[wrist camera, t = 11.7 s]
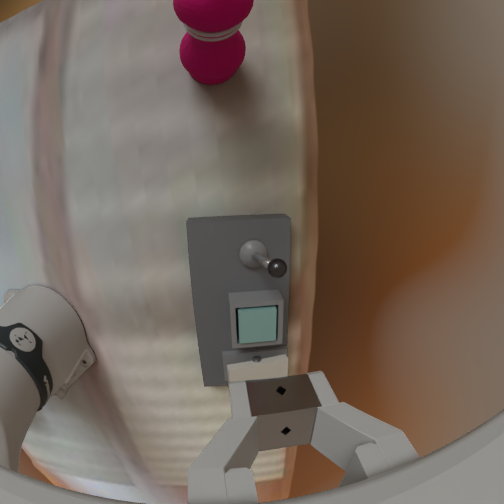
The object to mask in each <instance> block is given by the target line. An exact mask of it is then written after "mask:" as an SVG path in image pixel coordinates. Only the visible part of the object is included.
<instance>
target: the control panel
mask: <svg viewBox="0 0 504 504" xmlns="http://www.w3.org/2000/svg"><path fill="white" fill-rule="evenodd" d="M186 225H187V240H188V252H189V264H190V275H191V286H192V295H193V305H194V314H195V322H196V330H197V338H198V346H199V353H200V361H201V368H202V374H203V381H204V387H205V386H223V385H228V374H227V365H229V364H236V363H242V362H247V361H252V358H253V357H254V356H260V357H261V359H264V358H269V357H274V356H279V355H284V354H286V356H287V350H288V349H287V334H288V310H289V280H290V229H291V218H290V217H289V216H287V215H286V214H264V215H239V216H217V217H198V218H188V220H187V222H186ZM254 252H258V253H260V254H262V255H264V256H265V257H267V258H269V259H271V260H272V259H275V258H279V259H282V260H284V261H285V263H286V265H287V272H286V274H285V275H284V276H283V277H281V278H273V277H272V276H270V275H269V273H268V270H267V268H266V267H264V266H263V265H261V264H259V263H257V262H256V261H254V260H253V259H252V254H253V253H254ZM270 305H275V306H276V309H277V314H276V340H275V341H265V342H253V343H241V344H240V342H239V336H238V328H237V308H244V307H257V306H270Z"/></svg>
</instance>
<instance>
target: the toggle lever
mask: <svg viewBox="0 0 504 504" xmlns="http://www.w3.org/2000/svg"><path fill="white" fill-rule="evenodd" d="M252 259H253V260H254V261H256V262H257V263H259V264H261V265H263V266H264V267H266V268H267V270H268V273H269V275H270V276H272V277H273V278H281V277H283V276H284V275H285V274H286V272H287V265H286V263H285V261H284V260H282V259H279V258H275V259H272V260H271V259H269V258H267V257H265V256H264V255H262V254H260V253H258V252H254V253H253V254H252Z"/></svg>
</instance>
